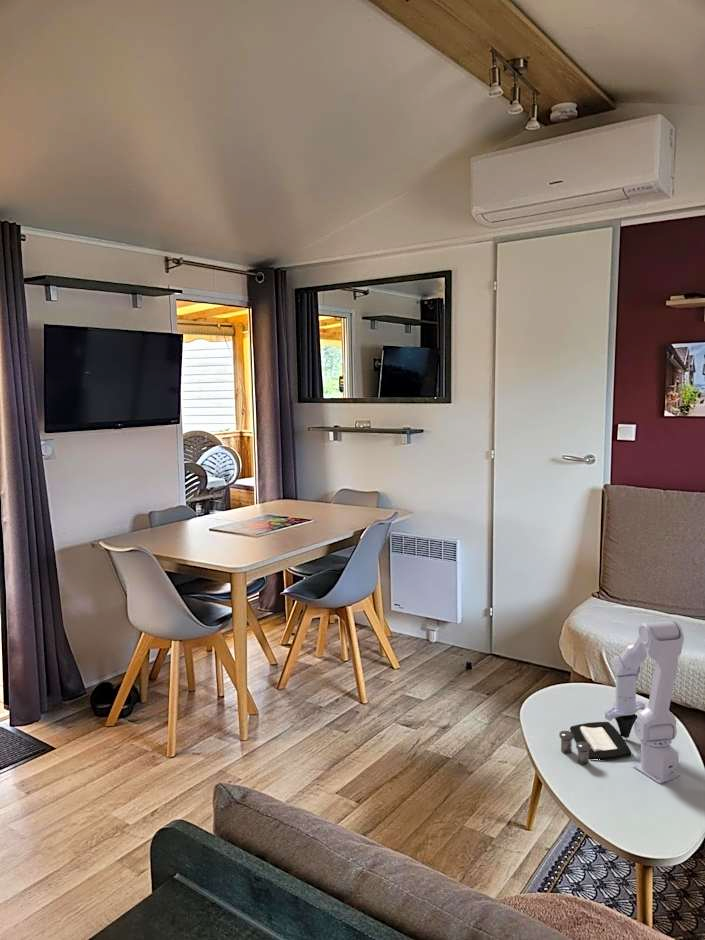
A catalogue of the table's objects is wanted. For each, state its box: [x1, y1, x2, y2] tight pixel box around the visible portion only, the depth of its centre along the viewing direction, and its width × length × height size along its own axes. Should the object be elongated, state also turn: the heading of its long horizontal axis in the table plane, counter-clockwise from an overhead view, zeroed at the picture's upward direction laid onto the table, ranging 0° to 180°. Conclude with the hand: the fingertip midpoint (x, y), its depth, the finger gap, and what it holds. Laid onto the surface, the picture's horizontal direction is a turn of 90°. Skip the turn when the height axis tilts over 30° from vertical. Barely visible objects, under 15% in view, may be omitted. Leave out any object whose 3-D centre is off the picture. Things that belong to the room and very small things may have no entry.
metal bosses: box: [558, 730, 591, 766], centre depth 208 cm, size 11×4×5 cm, turn 26°
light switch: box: [569, 721, 632, 761], centre depth 215 cm, size 20×3×14 cm
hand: (624, 736), depth 216 cm, fingers closed
